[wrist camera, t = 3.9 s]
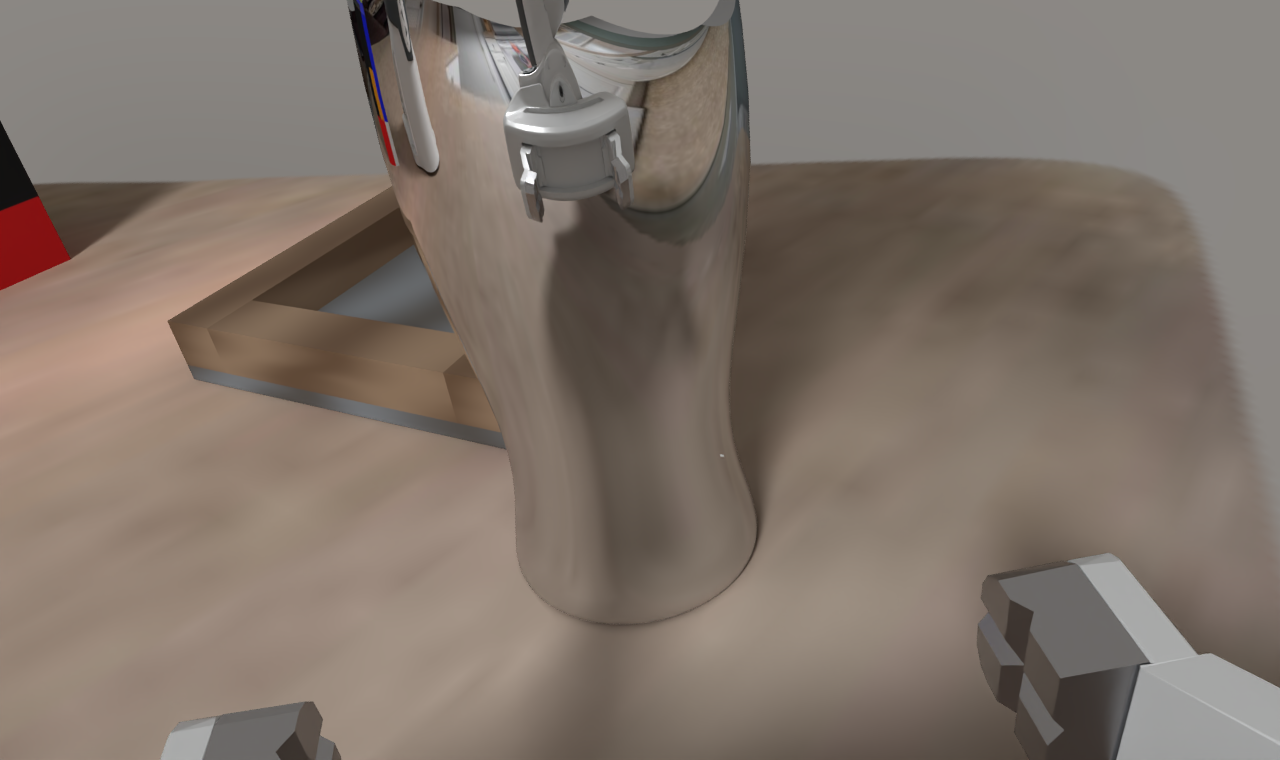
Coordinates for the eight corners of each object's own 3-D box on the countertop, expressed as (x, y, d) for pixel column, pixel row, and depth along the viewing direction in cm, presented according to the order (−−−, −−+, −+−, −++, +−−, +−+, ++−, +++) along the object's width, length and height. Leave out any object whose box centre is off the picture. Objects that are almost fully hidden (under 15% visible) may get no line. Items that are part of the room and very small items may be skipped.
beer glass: (529, 682, 20) (307, -83, 12) (482, 492, 26) (310, -113, 18) (824, 587, 21) (805, -167, 13) (717, 425, 27) (657, -169, 19)
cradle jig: (194, 378, 33) (167, 321, 32) (431, 219, 43) (418, 170, 42) (516, 451, 27) (499, 383, 26) (706, 245, 37) (701, 189, 36)
